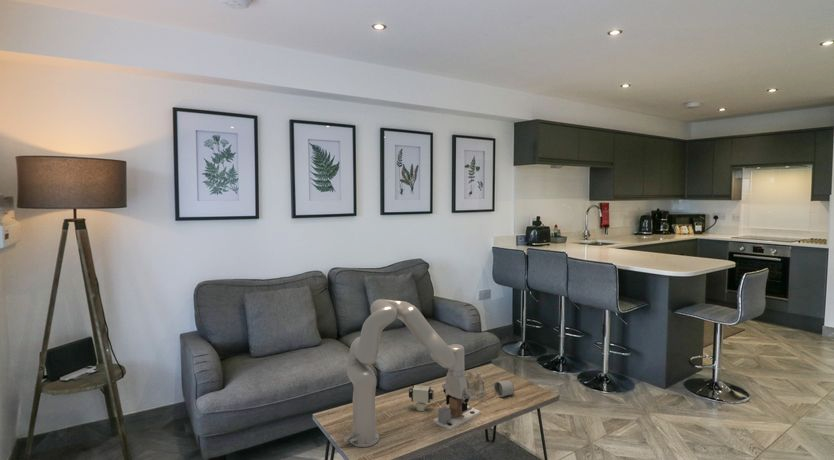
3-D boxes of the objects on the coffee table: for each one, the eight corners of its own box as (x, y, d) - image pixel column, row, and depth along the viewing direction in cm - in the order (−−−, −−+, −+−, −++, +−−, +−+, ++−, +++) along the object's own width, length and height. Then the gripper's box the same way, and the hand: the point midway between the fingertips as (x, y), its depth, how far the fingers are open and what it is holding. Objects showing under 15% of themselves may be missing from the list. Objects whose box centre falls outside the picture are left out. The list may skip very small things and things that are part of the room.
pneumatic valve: (432, 412, 218) (432, 388, 217) (408, 410, 221) (408, 386, 220) (434, 407, 224) (434, 383, 223) (411, 405, 226) (410, 381, 225)
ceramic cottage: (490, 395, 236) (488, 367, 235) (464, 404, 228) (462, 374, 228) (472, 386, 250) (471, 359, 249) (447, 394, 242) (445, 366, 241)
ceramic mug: (515, 396, 236) (515, 381, 236) (502, 399, 232) (502, 384, 232) (502, 388, 245) (502, 374, 245) (490, 391, 242) (490, 377, 241)
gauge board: (449, 430, 202) (449, 414, 201) (433, 422, 209) (433, 406, 209) (480, 413, 217) (480, 399, 217) (464, 406, 224) (464, 392, 224)
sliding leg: (460, 419, 207) (460, 402, 207) (449, 414, 212) (449, 397, 211) (467, 415, 211) (467, 399, 210) (456, 410, 215) (456, 394, 215)
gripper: (437, 368, 214) (437, 403, 216) (465, 379, 202) (465, 416, 203) (448, 364, 220) (448, 398, 221) (476, 374, 207) (476, 410, 209)
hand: (456, 407), depth 212 cm, fingers open, 9 cm apart
